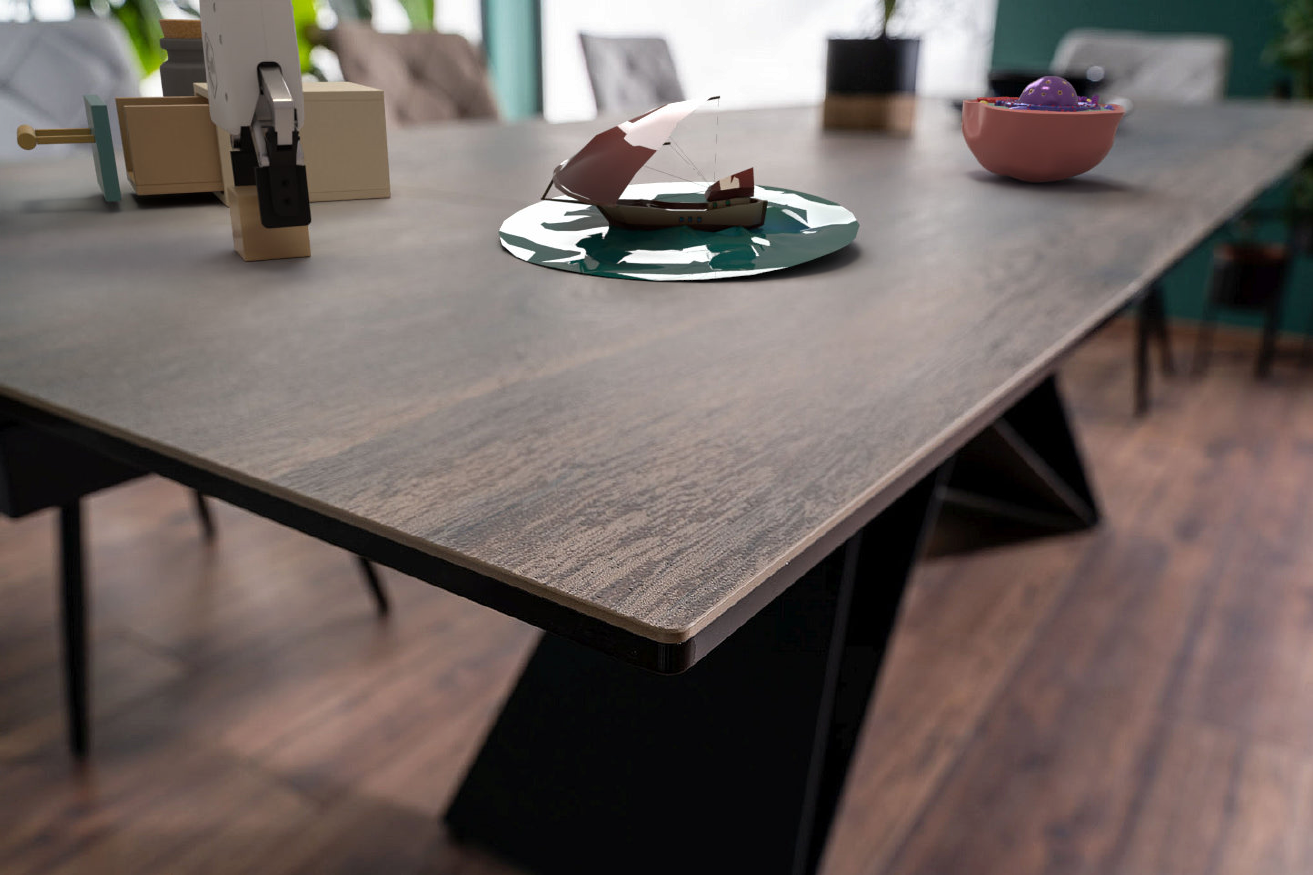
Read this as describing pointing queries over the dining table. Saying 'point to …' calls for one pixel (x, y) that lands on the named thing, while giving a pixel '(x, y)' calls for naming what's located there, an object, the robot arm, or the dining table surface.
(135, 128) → the drawer
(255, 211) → the block
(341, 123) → the cabinet
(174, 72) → the bottle
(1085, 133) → the cell model
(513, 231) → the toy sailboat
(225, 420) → the dining table surface
